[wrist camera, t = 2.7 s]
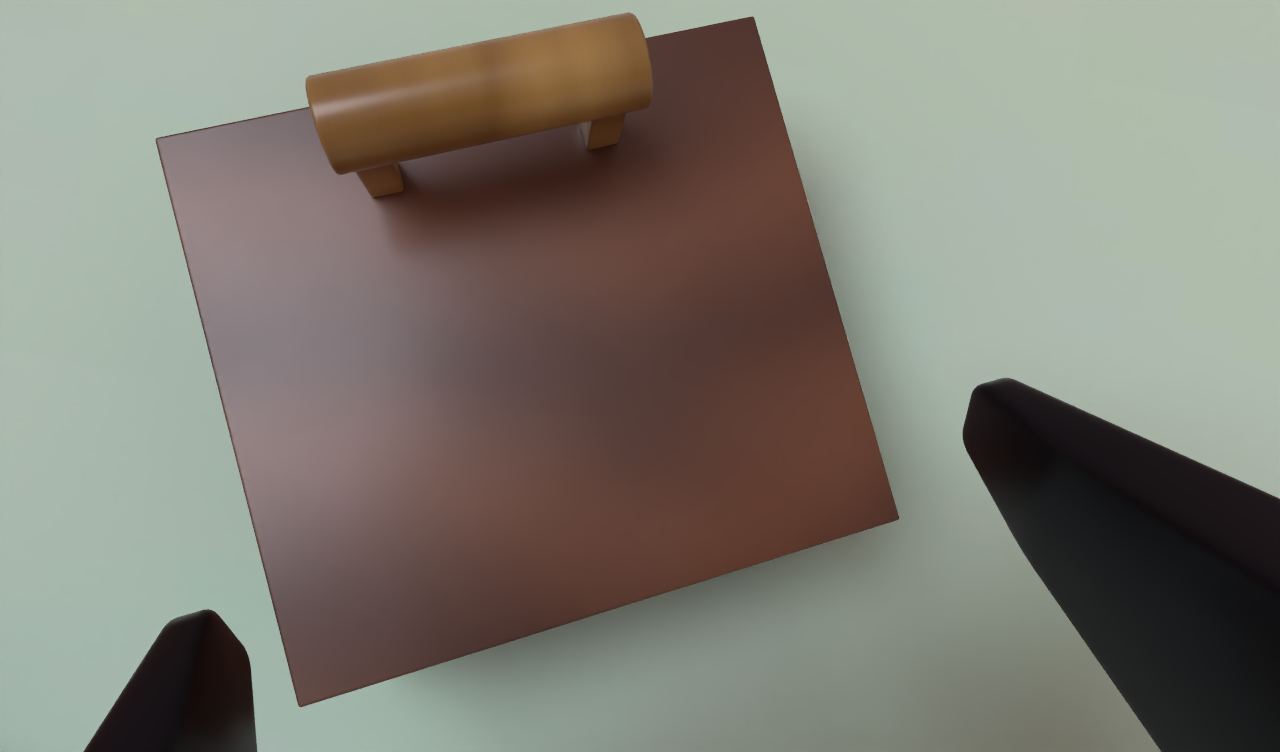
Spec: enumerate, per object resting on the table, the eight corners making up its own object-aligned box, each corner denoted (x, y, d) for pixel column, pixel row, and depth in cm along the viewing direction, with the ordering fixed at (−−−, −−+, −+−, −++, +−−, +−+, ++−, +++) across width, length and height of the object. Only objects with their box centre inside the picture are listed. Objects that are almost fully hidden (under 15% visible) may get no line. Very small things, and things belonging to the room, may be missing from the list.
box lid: (169, 149, 17) (37, 42, 12) (745, 31, 19) (813, -100, 14) (308, 697, 16) (223, 794, 12) (886, 516, 18) (1003, 540, 14)
